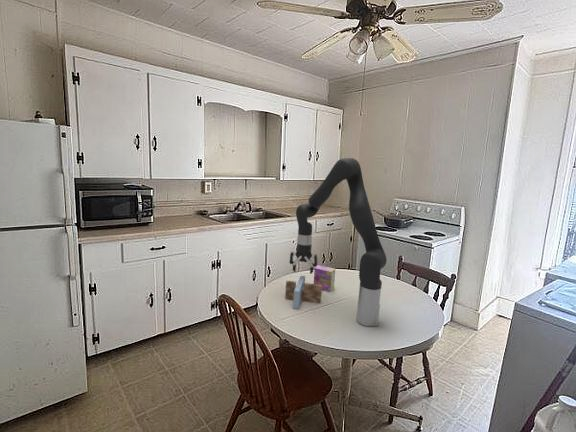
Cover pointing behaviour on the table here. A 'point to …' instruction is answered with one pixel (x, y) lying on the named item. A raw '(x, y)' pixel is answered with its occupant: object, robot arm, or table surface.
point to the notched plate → (298, 292)
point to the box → (324, 277)
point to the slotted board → (304, 292)
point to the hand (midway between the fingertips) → (302, 272)
